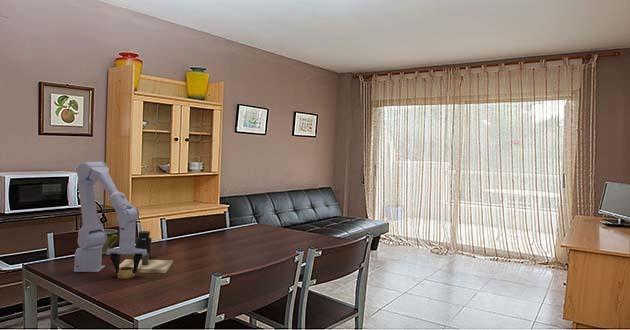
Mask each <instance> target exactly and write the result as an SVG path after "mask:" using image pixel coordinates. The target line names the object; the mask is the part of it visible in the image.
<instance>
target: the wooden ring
mask: <svg viewBox="0 0 630 330" xmlns="http://www.w3.org/2000/svg"><path fill="white" fill-rule="evenodd" d="M133 269H134V267H129V266H126V267H121V268H118V273H117V278H118V279H131V278H134V277H135V276H136V275H135V274H136V273H133Z"/></svg>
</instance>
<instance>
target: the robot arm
mask: <svg viewBox="0 0 630 330" xmlns="http://www.w3.org/2000/svg"><path fill="white" fill-rule="evenodd" d="M109 172H110V169H109V167H108V165H107V164H106V162H105V161H102V160H100V161H82V162H80V163H79V164H78V165H77V167H76V176H77V188H78V195H79V203H80V209H81V218H82V226H81V228H80V229H79V230H78V231H77V232H78V233H77V234H78V237H77V245H78V247H77V248H76V250H75V253H74V263H73V265H74V267H73V272H75V273H77V272H78V273H79V272H80V273H81V272H83V273H99V272H100V271H102V270H103V269H104V268H105V267H106V265H102V263H103V262H102V261H103V260H102V256H103V254H102V247H103V244H105V242H106V240H107V236H106V233H105V231H104V225H102V224H100V223H99V219H98V212H97V210H98V209H97V204H96V197H95V189H94V185H95V183H96V182H99V184H100V185H101V186H102V188H103V189H104V191H106V193H107V194H108V196H109V199H108V201H109V202H110V204H111V206H112V208H113V209H114V211H115V212H116V213H117V215H116V221H117V223H118V227H119V237H118V240H119V241H118V243H119V244H118V247H115V248H113V249H107V254H106V255H107V256H108V255H110V256H109V259H110V261H111V262H112V265H113V267H114V272H115V271H116V272H115V274H118V268H119V264H120V261H121V260H120V259H121V256H122V255H131V256H132V255H133V256H132V259H133V260H134V269H133V273H135V274H137V273H136V272H137V268H138V265H139V262H140V260H142V259H141V258H142V256H143V255H146V254H147V249H137V248H135V247H136V229H137V228H136V226H137V223H136V222H137V221H138V220H139V218H140V212H139V210H138V208H137V207H135V206H133V205H131V203H130V201H129V200H128V199H127V197H126V195H125V193H123V192H122V191H119V190H118V189H117V186H116V184H115V183H114V181H113V180H112V177H111V176H110V174H109Z"/></svg>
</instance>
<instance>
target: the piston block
mask: <svg viewBox="0 0 630 330" xmlns="http://www.w3.org/2000/svg"><path fill="white" fill-rule="evenodd" d="M173 263H174V260H173V259H172V260H171V259H150V258H149V253H147V254H146V255H143V256H142V259H141V260H140V262H139V265H138V268H137V272H136V273H135V274H137V273H138V274H139V273H144V274H145V273H147V274H148V273H149V274H156V273H157V274H167V272H168V271H169V270H170V268H171V266H172V265H173ZM126 266H129V267H134V260H133V258H132V259H130V258H129V259H127V258H126V259H124V260H123V261H122V262H121V263H119V268H121V267H126ZM114 273H116V271H115V270H114Z"/></svg>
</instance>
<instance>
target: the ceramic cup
mask: <svg viewBox="0 0 630 330" xmlns="http://www.w3.org/2000/svg"><path fill="white" fill-rule="evenodd" d="M104 231H105V233H106V236H107V240H106V242H105V244H103V247H102V255H107V249H113V248H114V247H115V243H116V242H117V241H118V240H119V236H118V230H117V229H111V228H110V229H108V228H107V229H106V228H105V229H104Z"/></svg>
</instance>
